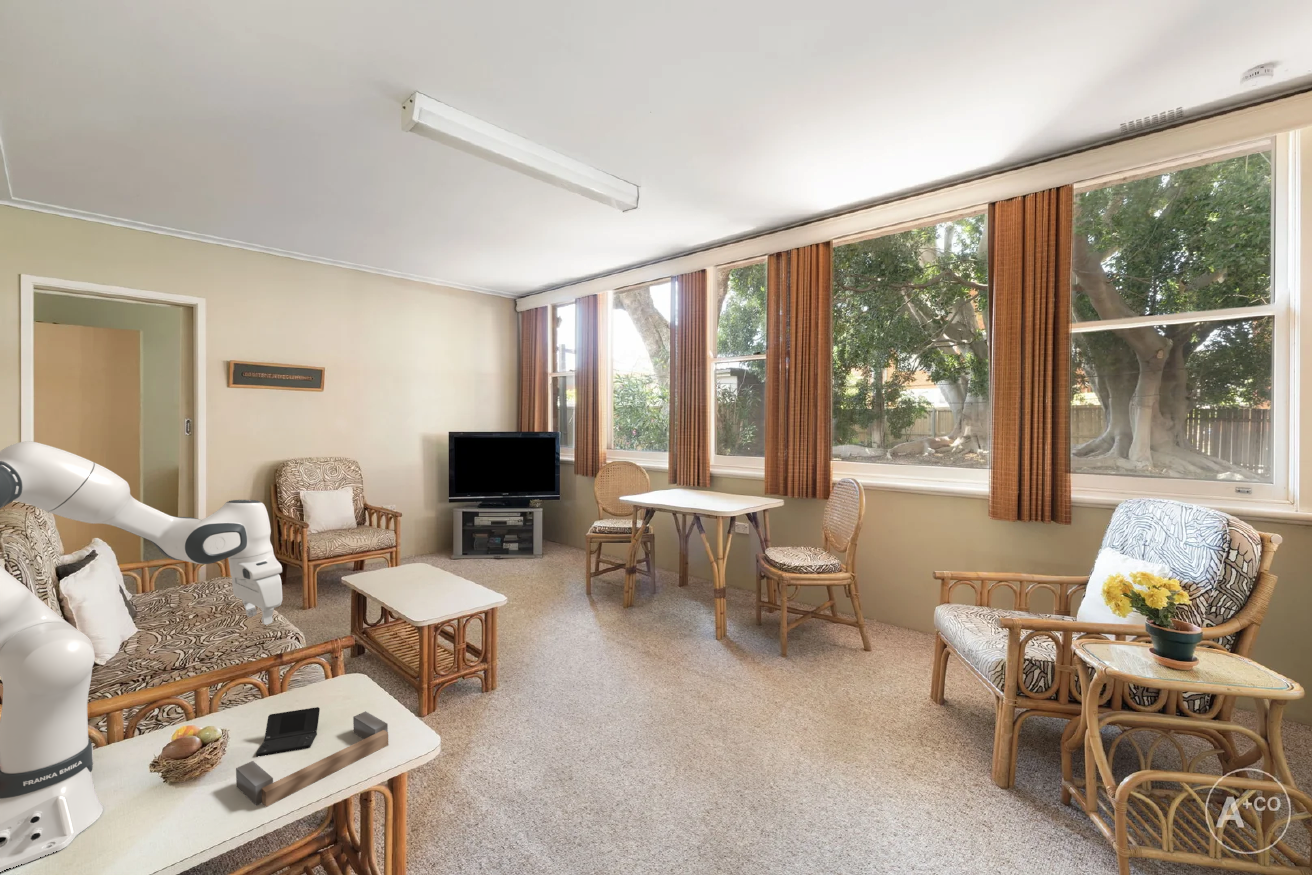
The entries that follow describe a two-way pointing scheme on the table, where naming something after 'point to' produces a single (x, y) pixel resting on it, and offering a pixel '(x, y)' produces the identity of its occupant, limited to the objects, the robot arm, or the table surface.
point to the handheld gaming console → (290, 731)
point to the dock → (265, 791)
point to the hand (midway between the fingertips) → (259, 619)
